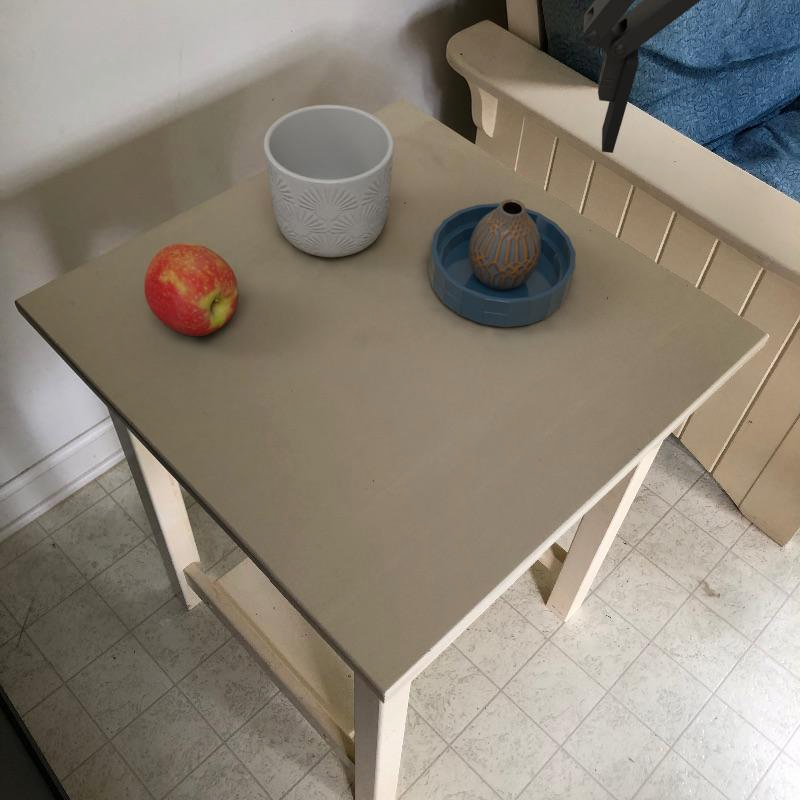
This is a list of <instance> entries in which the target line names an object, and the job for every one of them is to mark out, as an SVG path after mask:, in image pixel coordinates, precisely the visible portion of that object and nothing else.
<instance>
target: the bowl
mask: <svg viewBox="0 0 800 800" xmlns="http://www.w3.org/2000/svg"><path fill="white" fill-rule="evenodd" d="M500 204H501V202H497V203H495V202H494V203H482V204H481V203H480V204H475V205H472V206H469V207H466V208H462V209H459V210H457V211H456V212H454V213H453V214H451V215H450V216H448V217H446V218H445V219H443V220H442V222H441V223H440V225H439V226H438V227H437V229H435V231H434V232H433V237H432V241H431V245H430V255H429V266H428V275H429V276H428V277H429V280H430V284H431V288H432V290H433V291H434V292H435V294H436V295H437V297H438V298H439V299H440V300H441V302H442V303H443V304H444V305H445V306H446V307H448V308H449V309H450V310H452V311H453V312H455V313H456V314H458V315H459V316H461V317H462V318H463V317H464V318H466V319H469V320H471V321H473V322H476V323H479V324H481V325H486V326H487V325H488V326H496V327H502V328H508V327H509V328H510V327H511V328H512V327H520V326H528V325H531V324H534V323H536V322H539V321H541V320H545V319H547V318H548V317H549V316H550V315H552V314H553V313H554V312H556V311H557V310H558V309H559V308H560V307H561V306H562V304H563V302H564V301H565V298H566V297H567V295H568V293H569V290H570V288H571V287H570V286H571V283H572V280H573V276H574V272H575V269H576V255H577V254H576V250H575V248H574V245H573V242H572V241H571V238H570V236H569V235H568V234H567V233H566V232H565V230H563V228H562V227H561V226H560V225H559V224H558V223H557V222H555V221H553V220H552V219H550V218H548V217H547V216H546V215H543V214H542V213H540V212H538V211H535V210H532V209H529V208H526V207H525V208H526V212H527V214H528V215H529V216H530V217H531V219H532V220H533V221H534V223H535V224H536V226H537V228H538V231H539V234H540V240H541V252H540V257H539V261H538V264H537V267H536V269H535V270H534V272H533V274H532V275H531V276H530V278H529V279H528V280H527V281H526V282H524V283H523V284H521V285H520V286H518V287H516V288H513V289H508V290H497V289H493V288H490V287H488V286H486V285H485V284H483V283H482V282H481V281H480V280H479V279H478V278H477V277H476V276H475V274H474V272H473V270H472V268H471V265H470V260H469V244H470V239H471V236H472V233H473V231H474V229H475V227H476V226H477V224H478V223H479V221H480V220H481V219H482V218H483V217H484V216H485V215H487V214H488V213H490V212H491V211H493V210H495V209H496V208H497V207H498V206H499V205H500Z"/></svg>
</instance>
